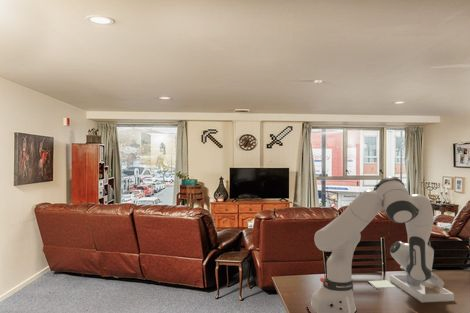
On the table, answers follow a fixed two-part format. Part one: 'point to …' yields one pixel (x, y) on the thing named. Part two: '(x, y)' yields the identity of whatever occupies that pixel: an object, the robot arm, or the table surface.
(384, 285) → the sage board
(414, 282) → the grey box
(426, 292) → the banded box
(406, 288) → the bin
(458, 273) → the table surface
